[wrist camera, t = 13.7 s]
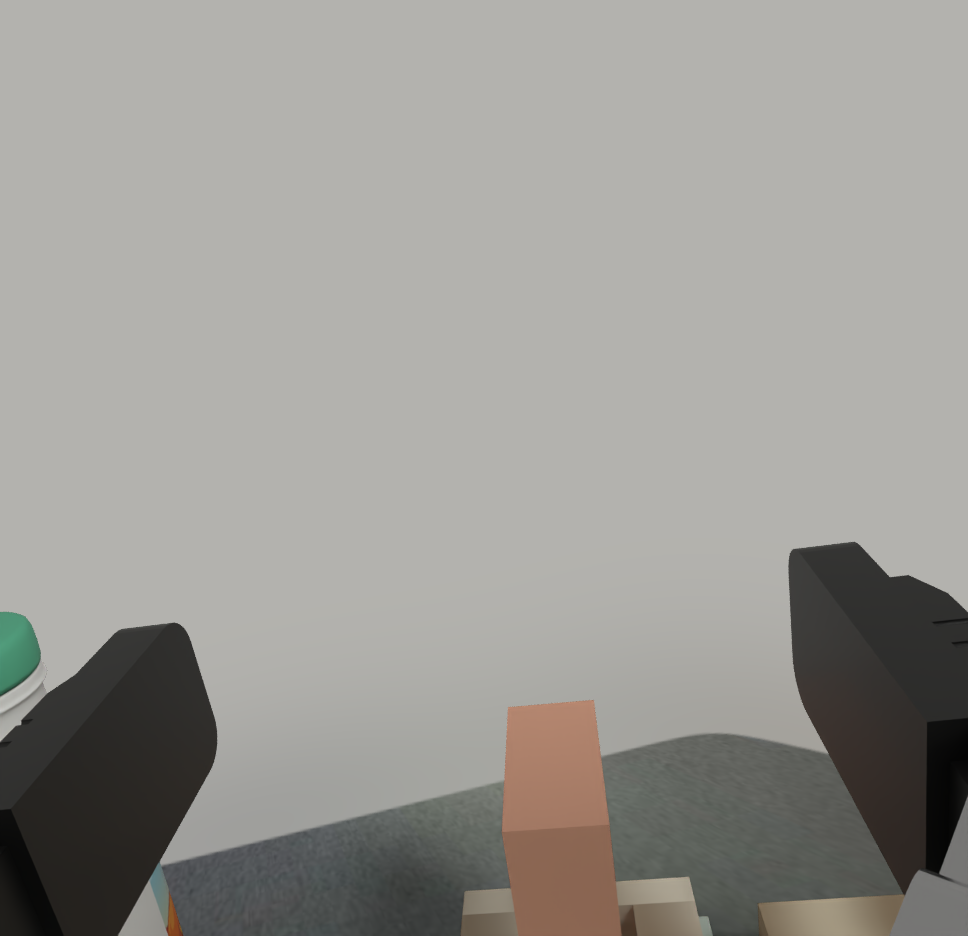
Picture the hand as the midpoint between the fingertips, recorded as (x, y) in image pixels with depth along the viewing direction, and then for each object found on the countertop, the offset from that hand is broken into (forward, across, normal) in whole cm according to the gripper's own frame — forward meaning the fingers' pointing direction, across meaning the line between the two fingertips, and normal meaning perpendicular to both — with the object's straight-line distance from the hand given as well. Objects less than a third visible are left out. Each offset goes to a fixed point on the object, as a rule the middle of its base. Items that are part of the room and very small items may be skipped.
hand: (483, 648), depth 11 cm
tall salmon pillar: (+12, +1, +25) cm, 28 cm away
